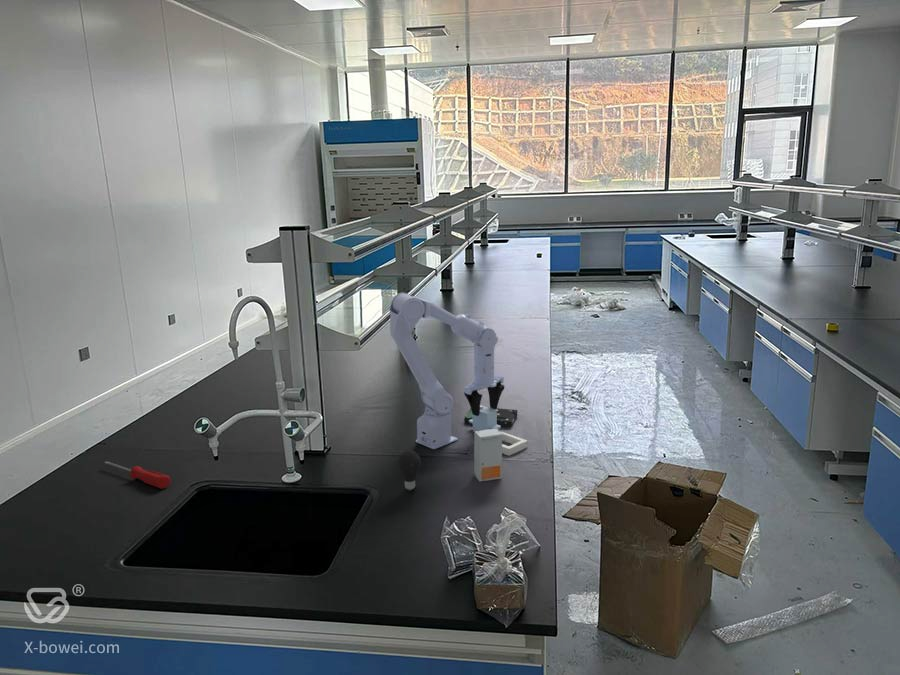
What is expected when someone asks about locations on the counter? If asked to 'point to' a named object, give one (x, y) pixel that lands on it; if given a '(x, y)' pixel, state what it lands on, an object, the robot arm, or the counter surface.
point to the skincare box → (488, 454)
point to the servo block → (485, 419)
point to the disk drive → (498, 417)
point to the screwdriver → (147, 476)
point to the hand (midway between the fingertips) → (484, 411)
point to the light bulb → (409, 467)
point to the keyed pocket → (517, 444)
